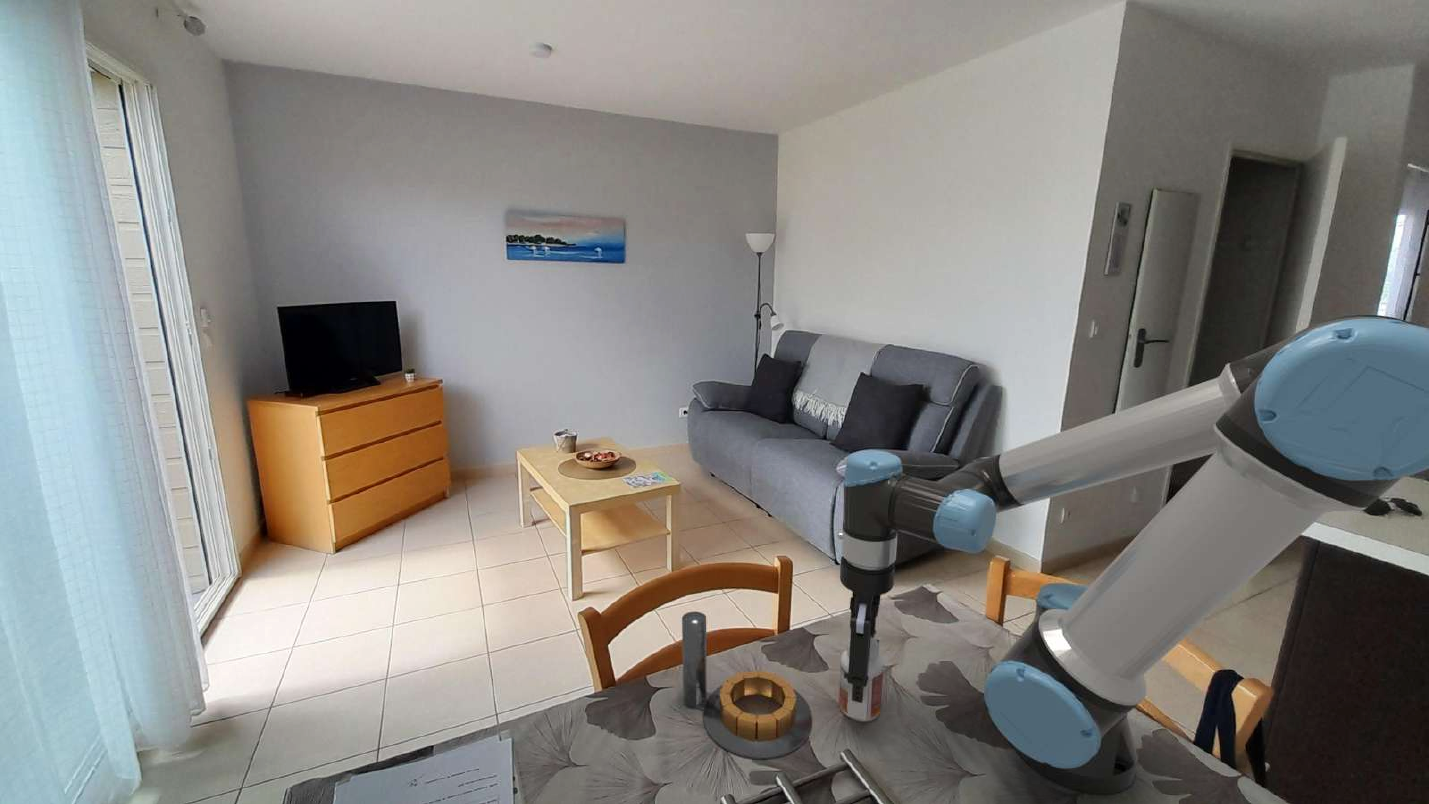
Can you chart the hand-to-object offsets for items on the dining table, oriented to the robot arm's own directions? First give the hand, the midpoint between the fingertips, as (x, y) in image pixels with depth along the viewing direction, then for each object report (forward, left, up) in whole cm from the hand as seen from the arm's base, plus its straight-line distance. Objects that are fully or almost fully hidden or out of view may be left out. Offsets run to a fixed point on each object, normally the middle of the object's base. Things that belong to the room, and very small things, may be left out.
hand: (859, 699), depth 89 cm
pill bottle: (0, 0, -2) cm, 2 cm away
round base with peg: (+16, +7, -1) cm, 17 cm away
